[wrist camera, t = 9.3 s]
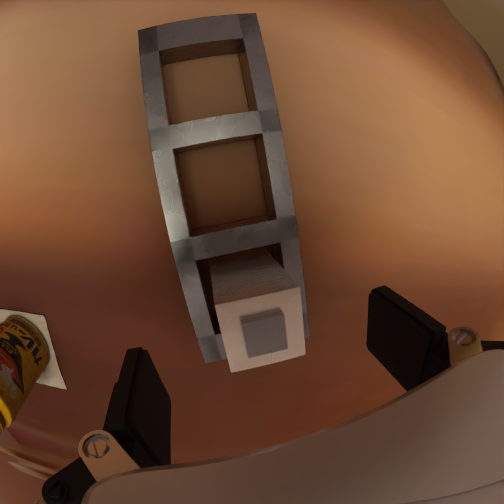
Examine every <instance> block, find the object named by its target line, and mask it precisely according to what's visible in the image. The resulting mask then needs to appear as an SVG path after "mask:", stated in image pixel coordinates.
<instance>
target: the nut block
mask: <svg viewBox="0 0 504 504" xmlns="http://www.w3.org/2000/svg"><path fill="white" fill-rule="evenodd" d="M209 264H210V272H211V280H212V288H213V296H214V304H215V309H216V313H217V317H218V322H219V326H220V330H221V334H222V338H223V342H224V346H225V350H226V354H227V358H228V362H229V366H230V370H231V372H236V371H241V370H246V369H250V368H255V367H259V366H263V365H268V364H272V363H276V362H280V361H284V360H287V359H291V358H295V357H299V356H302V355H305V340H304V326H303V314H302V302H301V291H300V286H299V285H298V284H297V283H296V282H295V281H294V280H293V279H292V278H291V276H290V275H289V274H288V273H287V272H286V271H285V270H284V269H283V268H282V267H281V266H280V265H279V264H278V263H277V261H276V260H275V259H274V258H273V257H272V256H271V255H270V254H269V253H268V252H267V251H266V250H265V249H264V248H263V247H262V248H257V249H251V250H246V251H241V252H236V253H231V254H226V255H221V256H215V257H210V258H209Z"/></svg>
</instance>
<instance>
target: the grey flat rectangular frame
mask: <svg viewBox="0 0 504 504" xmlns="http://www.w3.org/2000/svg"><path fill="white" fill-rule="evenodd" d="M138 38H139V52H140V64H141V75H142V84H143V93H144V101H145V109H146V117H147V124H148V130H149V137H150V143H151V149H152V155H153V161H154V167H155V172H156V177H157V183H158V188H159V193H160V198H161V202H162V207H163V212H164V216H165V221H166V225H167V230H168V234H169V238H170V242H171V246H172V251H173V255H174V259H175V262H176V266H177V270H178V274H179V278H180V281H181V285H182V289H183V292H184V296H185V299H186V303H187V306H188V310H189V313H190V316H191V320H192V323H193V326H194V329H195V333H196V336H197V339H198V342H199V345H200V348H201V351H202V354H203V357H204V360H205V363H209V362H214V361H219V360H224V359H228V358H227V354H226V350H225V346H224V342H223V338H222V334H221V330H220V326H219V322H218V318H213V317H212V314H211V310H210V306H209V302H208V298H207V294H206V290H205V286H204V282H203V278H202V274H201V270H200V266H199V262H198V260H201V259H206V258H210V257H215V256H219V255H224V254H229V253H233V252H238V251H243V250H247V249H252V248H256V247H261V246H266V245H270V244H273V250H274V257H275V260H276V261H277V263H278V264H279V265H280V266H281V267H282V268H283V269H284V270H285V271H286V272H287V273H288V274H289V275H290V276H291V278H292V279H293V280H294V281H295V282H296V283H297V284H298V285H299V286H300V291H301V302H302V314H303V326H304V339H306V338H310V336H309V325H308V314H307V304H306V295H305V286H304V277H303V268H302V260H301V252H300V244H299V237H298V229H297V222H296V215H295V208H294V201H293V195H292V188H291V182H290V176H289V170H288V164H287V158H286V152H285V146H284V141H283V135H282V130H281V125H280V119H279V114H278V109H277V104H276V99H275V94H274V89H273V84H272V80H271V75H270V71H269V66H268V62H267V57H266V53H265V48H264V44H263V40H262V36H261V32H260V28H259V24H258V20H257V16H256V13H251V14H233V15H221V16H211V17H203V18H196V19H189V20H183V21H178V22H172V23H167V24H163V25H158V26H154V27H150V28H146V29H142V30H138ZM234 53H238V55H239V60H240V65H241V70H242V75H243V80H244V85H245V90H246V95H247V100H248V106H249V111H250V112H242V113H235V114H228V115H221V116H215V117H209V118H204V119H198V120H193V121H188V122H183V123H179V124H174V125H171V120H170V113H169V106H168V99H167V92H166V85H165V77H164V69H163V65H165V64H170V63H174V62H179V61H185V60H190V59H196V58H202V57H209V56H216V55H224V54H234ZM250 139H255V144H256V149H257V155H258V160H259V166H260V172H261V178H262V183H263V189H264V195H265V201H266V207H267V213H268V215H264V216H259V217H254V218H249V219H244V220H239V221H234V222H229V223H224V224H220V225H215V226H210V227H205V228H201V229H196V230H192V231H191V227H190V222H189V217H188V212H187V208H186V203H185V198H184V193H183V188H182V183H181V177H180V172H179V167H178V161H177V156H176V153H179V152H184V151H189V150H193V149H198V148H203V147H209V146H214V145H219V144H225V143H231V142H237V141H244V140H250Z"/></svg>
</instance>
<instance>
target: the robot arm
mask: <svg viewBox="0 0 504 504" xmlns="http://www.w3.org/2000/svg"><path fill="white" fill-rule="evenodd" d="M445 330H446V327H445V326H444V325H443V324H441V323H440V322H438V321H437V320H435V319H434V318H433V317H431V316H430V315H428V314H427V313H425V312H424V311H422V310H421V309H419V308H418V307H417V306H415V305H414V304H412V303H411V302H409V301H408V300H406V299H405V298H403V297H402V296H400V295H399V294H397V293H396V292H394V291H393V290H391V289H390V288H388V287H387V286H380V287H377V288H375V289H373V290H372V291H371V293H370V294H369V302H368V327H367V348H368V350H369V351H370V352H371V353H372V354H373V355H374V356H375V357H376V358H377V359H378V361H379V362H380V363H381V364H382V365H383V366H384V367H385V368H386V369H387V370H388V371H389V372H390V373H391V375H392V376H393V377H394V378H395V379H396V380H397V381H398V382H399V383H400V384H401V385H402V386H403V388H404V389H405V390H406V391H407V392H406V393H404V394H402V395H401V396H399V397H397V398H395V399H393V400H391V401H389V402H387V403H385V404H383V405H381V406H379V407H377V408H374V409H372V410H370V411H368V412H366V413H363V414H361V415H359V416H357V417H354V418H352V419H350V420H347V421H345V422H342V423H340V424H337V425H335V426H332V427H329V428H327V429H324V430H321V431H318V432H315V433H313V434H310V435H307V436H304V437H301V438H297V439H294V440H291V441H287V442H284V443H281V444H277V445H273V446H270V447H266V448H262V449H258V450H254V451H249V452H245V453H240V454H235V455H230V456H225V457H219V458H214V459H208V460H201V461H195V462H187V463H179V464H171V452H170V431H171V401H170V397H169V395H168V393H167V391H166V389H165V387H164V385H163V383H162V381H161V379H160V377H159V375H158V373H157V370H156V368H155V366H154V364H153V362H152V360H151V357H150V355H149V353H148V351H147V350H143V349H142V348H141V347H138V348H132V349H128V350H127V352H126V355H125V358H124V362H123V365H122V368H121V372H120V375H119V379H118V382H117V383H115V385H114V388H113V392H112V395H111V399H110V403H109V407H108V411H107V415H106V419H105V423H104V427H103V431H102V430H97V431H92V432H90V433H88V434H87V435H85V436H84V437H83V438H82V440H81V441H80V444H79V450H78V451H79V454H80V456H81V457H79V458H78V459H76V460H75V461H74V462H72V463H71V464H69V465H68V466H66V467H65V468H64V469H62V470H61V471H59V472H58V473H56V474H55V475H53V476H52V477H50V478H49V479H48V480H47V481H46V482H45V483H44V485H43V488H42V496H43V500H42V501H40V500H37V501H36V503H35V504H504V341H480V338H479V335H478V333H477V332H476V331H474V330H473V329H471V328H468V327H462V326H461V327H456V328H453V329H452V330H450V331H449V333H448V334H447V333H446V332H445Z"/></svg>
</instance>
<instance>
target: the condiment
mask: <svg viewBox="0 0 504 504" xmlns="http://www.w3.org/2000/svg"><path fill="white" fill-rule="evenodd" d="M45 367H47V368H46V369H45ZM44 369H45V370H46V371H44ZM36 382H37V383H40V384H46V385H49V386H53V387H58V388H62V389H67V388H66V386H65V383H64V380H63V377H62V376H61V372H60V369H59V367H58V363H57V360H56V356H55V353H54V349H53V346H52V343H51V339H50V335H49V332H48V328H47V324H46V320H45V318H44V316H43V315H36V314H30V313H25V312H19V311H11V310H4V309H0V435H1V434H2V432H3V430H4V428H5V427H9V426H10V425H11V424H12V422H13V421H14V420H15V418H16V415H17V413H18V411H19V410H20V409H21V407H22V405H23V403H24V401H25V400H26V398H27V397H28V395H29V393H30V391H31V390H32V388H33V387H34V385H35V383H36Z"/></svg>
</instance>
